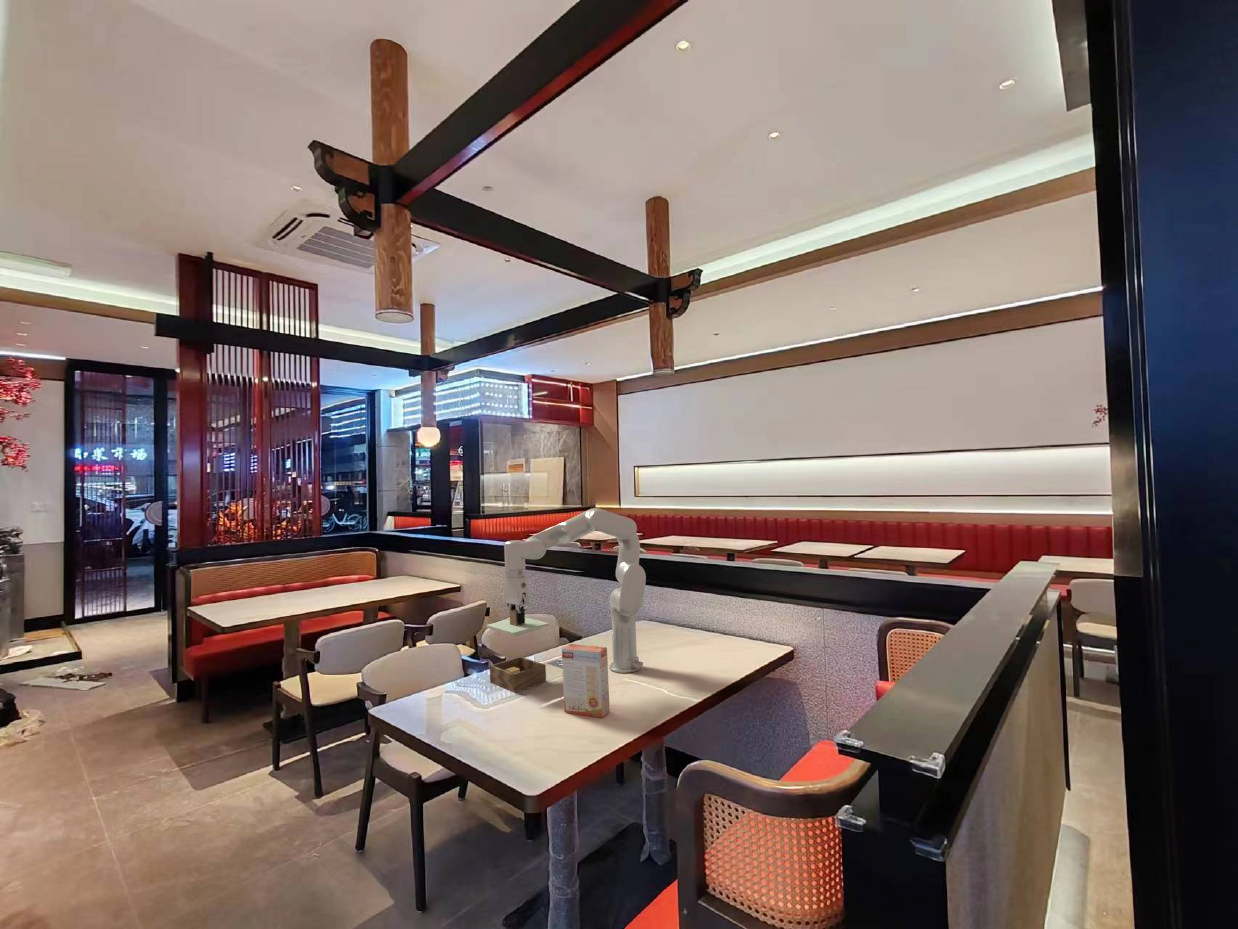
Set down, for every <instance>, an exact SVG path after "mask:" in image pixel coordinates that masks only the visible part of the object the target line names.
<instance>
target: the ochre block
mask: <svg viewBox="0 0 1238 929" xmlns="http://www.w3.org/2000/svg"><path fill="white" fill-rule="evenodd" d="M505 671H508V672H510V673H513V674H516V673H519V672H520V669H519V668H516V667H511V668H508V669H505Z"/></svg>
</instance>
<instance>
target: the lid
mask: <svg viewBox="0 0 1238 929" xmlns="http://www.w3.org/2000/svg"><path fill="white" fill-rule="evenodd" d="M508 613H509V618H508V619H505V620H501V621H497V622H493V623H490V624H489V623H488V624H486V625H485V629H490V630H493V631H496V632H499V633H503V634H507V635H509V636H513V637H516V636H519V635H523V634H527V633H531V632H534V631H539V630H541V629H542V628H545V627H549V626H550V622H546V621H542V620H538V619H535V618H529V617H526V616H525V623H521V624H517V613H518V610H517V608H516V610H512V611H509V610H508Z"/></svg>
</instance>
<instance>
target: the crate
mask: <svg viewBox="0 0 1238 929" xmlns="http://www.w3.org/2000/svg"><path fill="white" fill-rule="evenodd" d="M511 667H516V668H519V669H520V672H519V673H516V674H513V673H510V672H508V671H505V669H508V668H511ZM546 667H547V666H546V664H544V663H541V662H538V661H537V660H532V659H529V658H526V657H523V656H518V657H514V658H511V659H509V660H508V659H507V660H503V661H502V662H498V663H494V664H491V665H489V683H491V684H493V685H495V686H498V687H500V688H502V689H505V690H506V691H509V692H512V693H514V694H515V693H518V692H521V691H524V690H527V689H529V688H531V687H532V688H533V687H535V686H538V685H540V684H543V683H547V672H546V669H547V668H546Z"/></svg>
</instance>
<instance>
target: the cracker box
mask: <svg viewBox="0 0 1238 929" xmlns="http://www.w3.org/2000/svg"><path fill="white" fill-rule="evenodd" d="M561 652H562V653H561V654H562V656H561V657H562V658H561V659H562V662H563V669H562V682H563V683H562V684H563V685H562V686H563V709H564V710H563V711H564V713H565V712H566V714H574V715H580V716H587V717H593V718H594V717H595V718H599V719H603V718H604V717H605V716H606V715H607V714H608V713H609V712H610V710H611V709H610V690H609V688H610V687H609V684H610V683H609V664H608V647H607V646H596V645H585V644H577V643H576V644H575V643H570V644H568V645H566V646H565V647H563V648H561Z"/></svg>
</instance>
